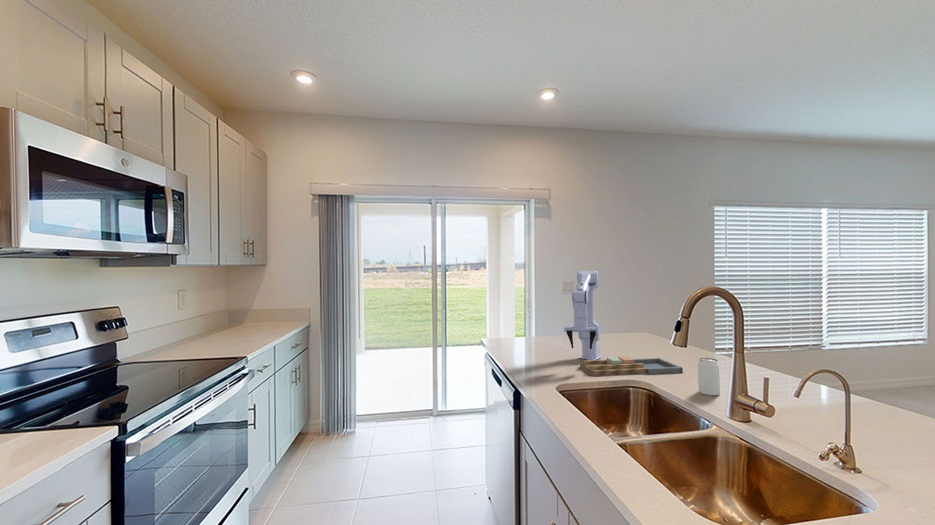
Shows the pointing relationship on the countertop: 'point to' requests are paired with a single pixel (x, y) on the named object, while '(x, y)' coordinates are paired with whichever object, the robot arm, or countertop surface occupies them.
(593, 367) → the brown wooden rack
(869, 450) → the countertop surface
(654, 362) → the tray
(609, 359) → the pale green upright block
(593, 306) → the robot arm
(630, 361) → the salmon pink block
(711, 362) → the can
